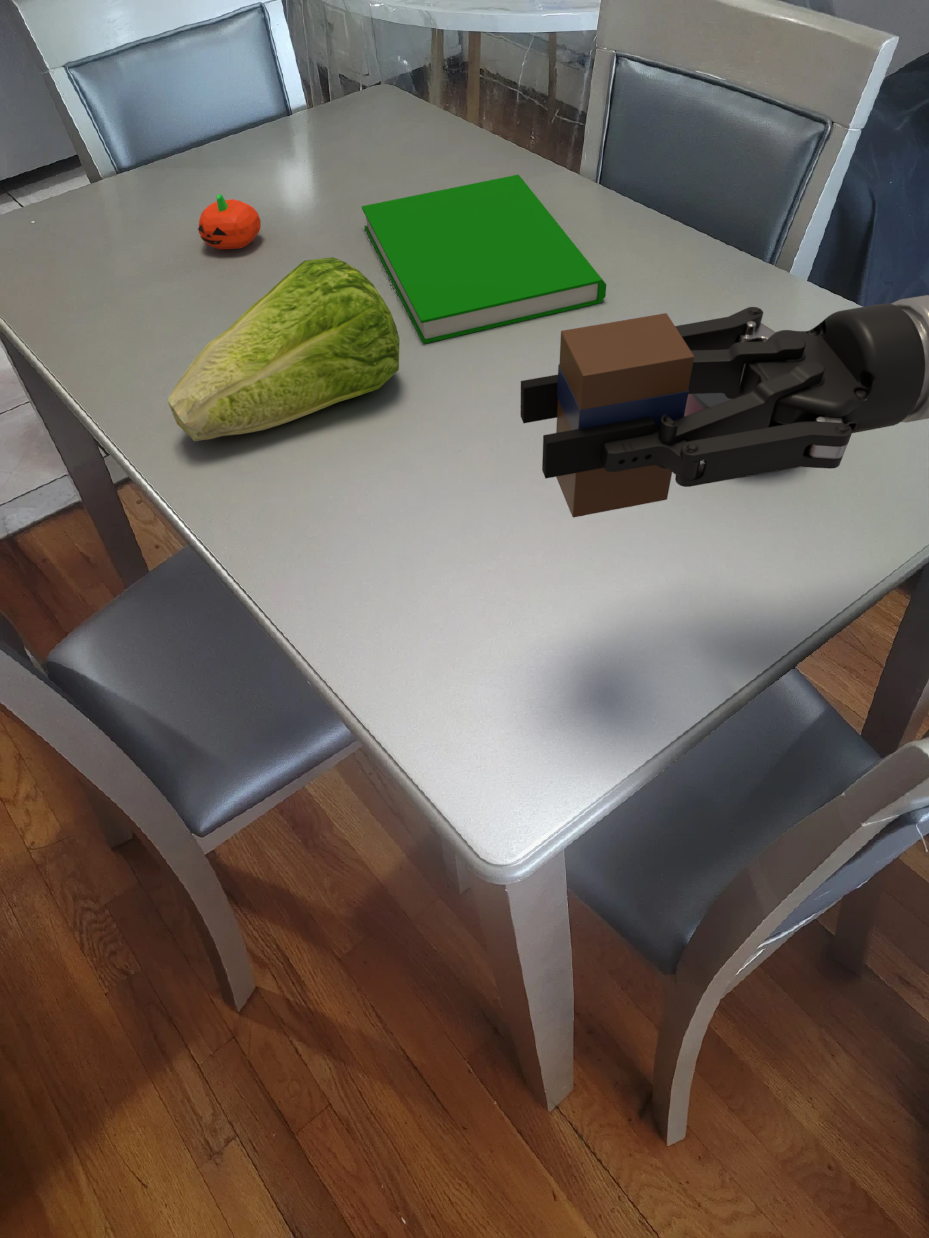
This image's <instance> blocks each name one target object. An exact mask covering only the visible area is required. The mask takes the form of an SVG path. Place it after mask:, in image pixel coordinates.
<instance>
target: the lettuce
mask: <svg viewBox="0 0 929 1238" xmlns="http://www.w3.org/2000/svg"><path fill="white" fill-rule="evenodd" d="M398 332H399V331H398V327H397V325H396V322H395V319H394V317H393V314H392V312H391V310H390V308H389V306H388V305H387V303H386V302H385V299H384V298H383V296H382V295H381V294H380V292H379V291H378V289H377V288H376V287H375V285H374V283H373V282H371V280H370V279H368V278H367V276H366V275H364V274H363V273H362V272H361V270H359V269H357V268H355V267H354V266H352V265H350V264H348V263H347V262H346V261H344V260H341V259H339V258H336V257H333V256H332V257H323V258H315V259H307V260H304V261H302V262H301V263H299V264H298V265H296V267H294V269H292V270H291V271H290V272H289V273H287V274H286V275H285V276H284V277H283V278H282V279H281V280H279V281H278V282H277V283H276V284H275V285H274V286H273V287H272V288H271V289H269V291H268V292H266V293H265V294H264V295H263V296H262V297H260V298H259V299H258V300H257V301H255V302H254V303H253V304H252V305H250V306H249V307H248V308H247V309H246V310H245V311H244V312H243V314H242V315H241V316H240V317H238V319H237V320H235V321H234V323H232V324H231V325H230V326H229V327H228V328H227V329H226V330H225V331H223V332H222V333H220V334H219V335H217V336H216V337H215V338H213V339H212V340H211V341H209V342H208V343H207V344H206V345H205V346H204V347H203V349H201V351H199V353H198V354H197V356H196V357H195V358H194V359H193V360H192V362H191V363H190V365H189V366H188V367H187V369H186V370H185V371H184V373H183V375H181V377H180V378H179V380H178V381H177V383H176V384H175V386H173V389H172V391H171V393H170V395H169V397H168V398H167V403H168V406H169V408H170V411H171V414H172V416H173V418H174V420H175V423H176V425H177V426H178V427H179V428H180V429H181V430H183V431H184V432H185V434H187V435H188V437H190V438H191V439H192V441H194V442H199V441H205V440H212V439H216V438H220V437H223V436H224V437H225V436H234V435H243V434H249V433H255V432H260V431H265V430H268V429H271V428H274V427H278V426H281V425H283V424H286V423H289V422H292V421H295V420H298V419H300V418H302V417H303V418H304V417H305V416H307V415H310V414H313V413H315V412H318V411H320V410H322V409H325V408H328V407H330V406H333V405H335V404H337V403H340V402H343V401H346V400H347V401H348V400H350V399H353V398H356V397H359V396H362V395H365V394H368V393H371V392H374V391H376V390H379V389H380V388H382V386H384V384H386V382H387V381H389V380H390V379H391V378H392V377H393V376H394V375H395V374H396V373H397V372H398V371H399V370H400V336H399V333H398Z"/></svg>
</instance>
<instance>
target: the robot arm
mask: <svg viewBox="0 0 929 1238" xmlns="http://www.w3.org/2000/svg"><path fill="white" fill-rule="evenodd" d="M763 316H764V310H762V309H761V308H760V307H758V306H749V307H746V308H744V309H741V310H740V311H737V312H735V313H733V314H730V315H729V316H725V317H724V316H723V317H718V318H712V319H707V320H702V321H701V320H700V321H696V322H691V323H690V322H689V323H684V324H679V325H675V327H676V329H677V330H678V332H679V333H680V335H681V336H682V338H683V340H684V341H685V343H686V344H687V346H688V347H689V349H690V351H691V352H692V354H693V355H694V361H693V366H692V371H691V377H690V382H689V387H688V391H689V393H688V394H705V393H724V394H725V396H726V397H727V398H729V399H731V400H729V401H726V402H723V403H720V404H718V405H715V406H712V407H709V408H707V409H704V410H701V411H698V412H696V413H693V414H690V415H688V416H685V417H682V418H679V419H677V420H674V421H673V420H672V419H671V418H670V417H669V416H668V417H667V414H665V415H663V416H662V417H661V423H660V429H659V432H655V426H656V423H655V422H654V420H653V418H652V416H649V417H644V418H638V419H633V420H627V421H622V422H616V423H610V424H605V425H599V426H594V427H588V428H583V429H575V430H570V431H564V432H558V433H556V432H552V433H548V434H543V435H542V461H541V462H542V465H541V467H542V468H541V471H542V473H543V476H544V478H545V479H553V478H556V477H557V476H563V475H568V474H573V473H579V472H584V471H590V470H595V469H600V468H605V471H608V472H618V471H623V470H629V469H631V468H632V469H634V468H640V467H645V466H650V465H657V466H658V467H660V468H668V469H669V470H671V471H672V474H674V475H675V479H674V480H675V483H676V484H677V485H679V486H680V487H684V488H685V487H686V488H691V487H696V486H701V485H707V484H712V483H716V482H717V483H719V482H724V481H729V480H735V479H741V478H745V477H750V476H757V475H762V474H768V473H774V472H779V471H784V470H791V469H795V468H812V469H813V468H815V469H816V468H817V469H830V470H831V469H836V468H839V466H840V465H841V462H842V460H843V457H844V455H845V452H846V450H847V447H848V445H849V442H850V439H851V438H852V434H856V433H862V432H867V431H873V430H878V429H883V428H888V427H893V426H896V425H899V424H900V423H905V424H906V423H911V422H917V421H922V420H928V419H929V294H925V295H920V296H913V297H907V298H901V299H898V300H896V301H894V302H891V303H888V302H886V303H885V302H884V303H878V304H877V303H876V304H871V305H866V306H859V307H854V308H849V309H842V310H838V311H835V312H833V313H831V314H829V315H828V316H826V318H824V320H822V321H821V322H819V323H818V324H817V325H815V326H814V327H813V328H811V329H809V330H803V331H802V330H792V329H782V330H778V331H775V330H774V329H772V328H770V327H768V326H767V325H766V324H764V323H763V322H762V320H763ZM744 365H745V366H744ZM743 368H744V370H743ZM742 372H743V374H742ZM741 376H742V381H740V380H741ZM557 385H558V374H554V375H549V376H548V375H546V376H541V377H535V378H529V379H524V380H520V418H521V421H522V424H528V423H534V422H540V421H545V420H546V421H547V420H551V419H557V406H558V397H557ZM666 418H667V419H666ZM704 460H705V461H704ZM701 461H704V463H701Z"/></svg>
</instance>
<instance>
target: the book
mask: <svg viewBox="0 0 929 1238" xmlns="http://www.w3.org/2000/svg"><path fill="white" fill-rule="evenodd" d="M361 209H362V212H363V214H364V216H365V220H366V225H364V230H365V232H366V234H367V236H368V238H369V240H370V241H371V244H372V246H373V248H374V250H375V252H376V253H377V256H378V257H379V260H380V262H381V263H382V265H383V267H384V270H385V271H386V273H387V275H388V277H389V280H390V281H391V283H392V285H393V287H394V290H395V291H396V294H397V295H398V297H399V299H400V300H401V303H402V305H403V306H404V308H405V311H406V312H407V315H408V316H409V318H410V319H409V320H411V322H412V324H413V326H414V328H415V330H416V332H417V334H418V336H419V338H420V340H421V342H422V344H423V345H425V344H431V343H434V342H439V341H443V340H447V339H451V338H457V337H461V336H463V335H465V336H466V335H470V334H472V333H477V332H478V333H479V332H481V331H485V330H490V329H495V328H499V327H505V326H507V325H512V324H516V323H521V322H525V321H530V320H533V319H538V318H542V317H548V316H551V315H555V314H560V313H564V312H568V311H572V310H573V311H574V310H577V309H581V308H586V307H589V306H595V305H598V304H601V303H602V302H603V301H604V299H605V298H606V295H607V294H606V293H607V283H606V282H605V281H604V279H603V278H602V277H601V276H600V274H599V273H598V272H597V271H596V269H595V268H594V266H592V264H591V263H590V262H589V260H588V259H587V258H586V257H585V255H584V254H583V253H582V252H581V250H580V249H579V248H578V247H577V246H576V244H575V243H574V242H573V241H572V239H571V238H570V237H569V235H568V234H567V233H566V232H565V230H564V229H563V228H562V227H561V226H560V224H559V223H558V221H557V220H556V219H555V218H554V216H553V215H552V214H551V213H550V211H549V210H548V209H547V208H546V207H545V205H544V204H543V203H542V202H541V200H540V199H539V198H538V197H537V196H536V194H535V193H534V191H533V190H532V189H531V187H529V185H528V184H527V183H526V182H525V180H524V179H523V178H522V177H521V176H520V174H513V175H509V176H504V177H499V178H493V179H489V180H483V181H480V182H473V183H468V184H464V185H460V186H453V187H449V188H444V189H440V190H435V191H434V190H433V191H430V192H425V193H420V194H415V195H409V196H406V197H405V196H404V197H402V198H396V199H390V200H386V201H385V200H384V201H381V202H375V203H371V204H370V203H369V204H365V205H361Z"/></svg>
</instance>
